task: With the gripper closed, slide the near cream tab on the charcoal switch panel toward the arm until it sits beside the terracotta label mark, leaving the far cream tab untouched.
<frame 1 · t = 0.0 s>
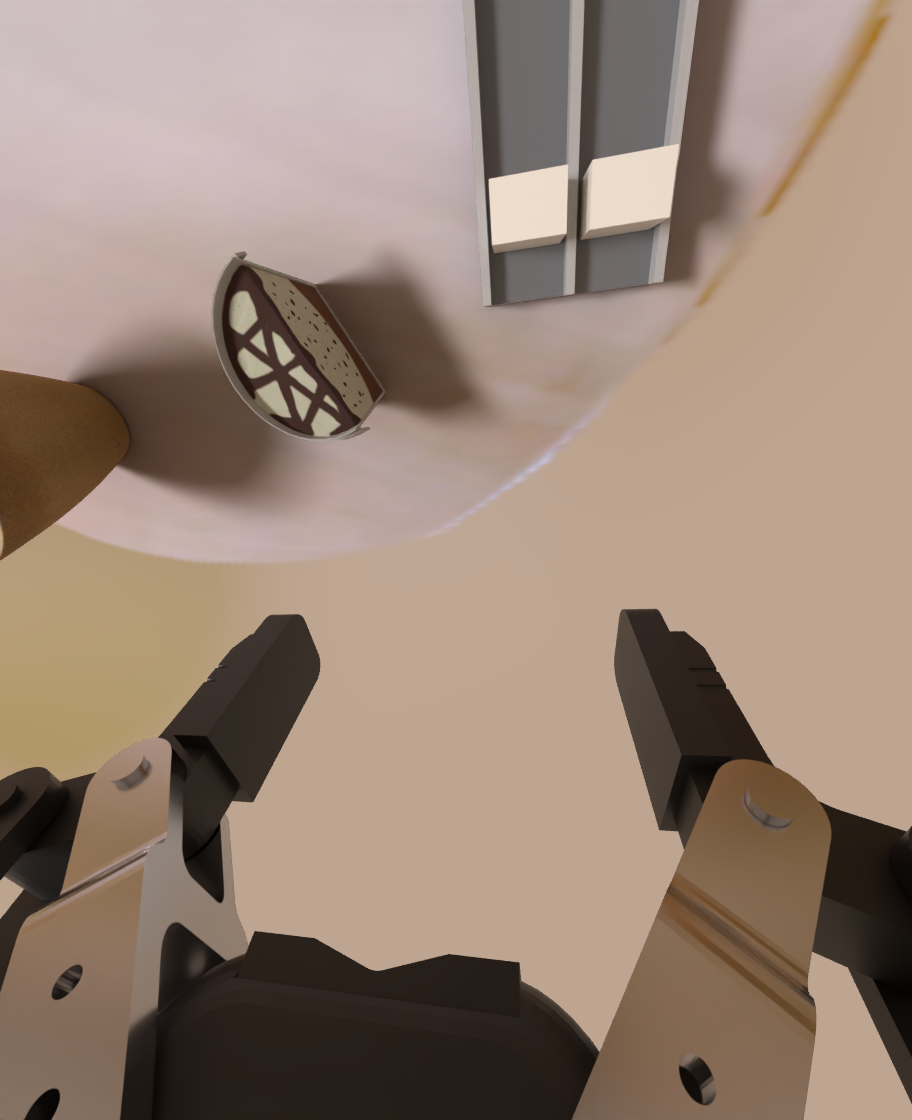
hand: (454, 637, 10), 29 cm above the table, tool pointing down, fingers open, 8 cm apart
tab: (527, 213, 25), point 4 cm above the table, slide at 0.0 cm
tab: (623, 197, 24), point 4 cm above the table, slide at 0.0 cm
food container: (327, 362, 35), on the table
plant pot: (94, 424, 40), on the table
switch panel: (568, 117, 25), on the table
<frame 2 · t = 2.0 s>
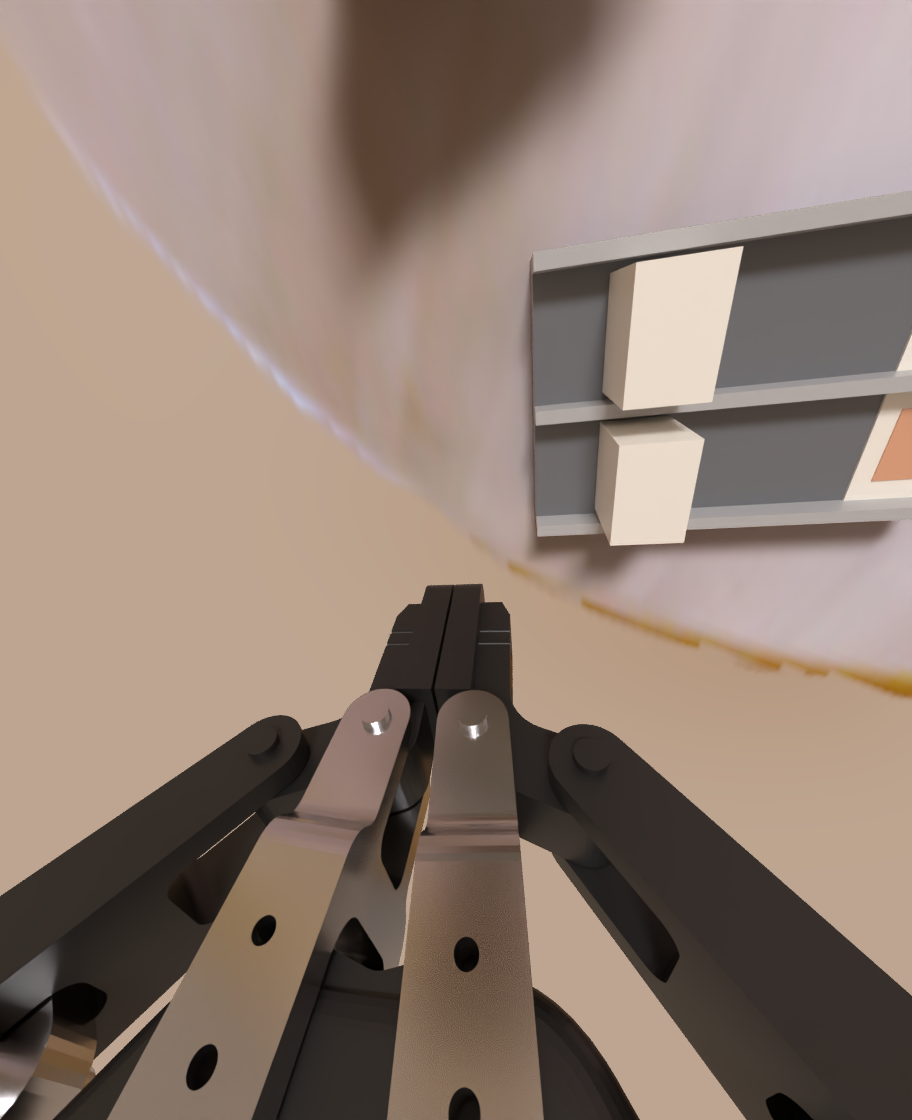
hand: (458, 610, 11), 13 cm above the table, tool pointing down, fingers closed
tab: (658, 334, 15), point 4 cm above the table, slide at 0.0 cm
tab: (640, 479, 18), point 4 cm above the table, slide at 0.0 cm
switch panel: (735, 384, 19), on the table
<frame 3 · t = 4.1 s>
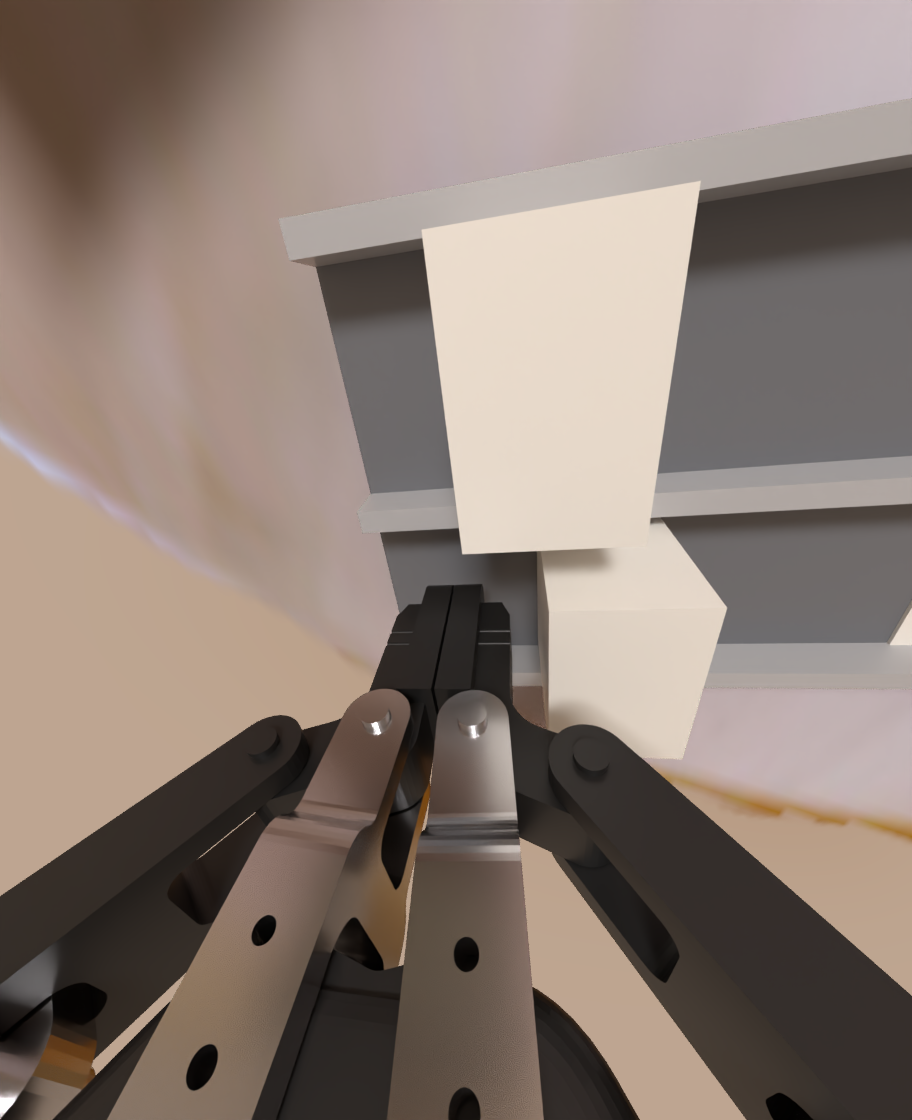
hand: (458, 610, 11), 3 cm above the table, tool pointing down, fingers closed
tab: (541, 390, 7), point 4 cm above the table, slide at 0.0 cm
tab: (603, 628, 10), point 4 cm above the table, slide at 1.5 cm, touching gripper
switch panel: (711, 454, 11), on the table
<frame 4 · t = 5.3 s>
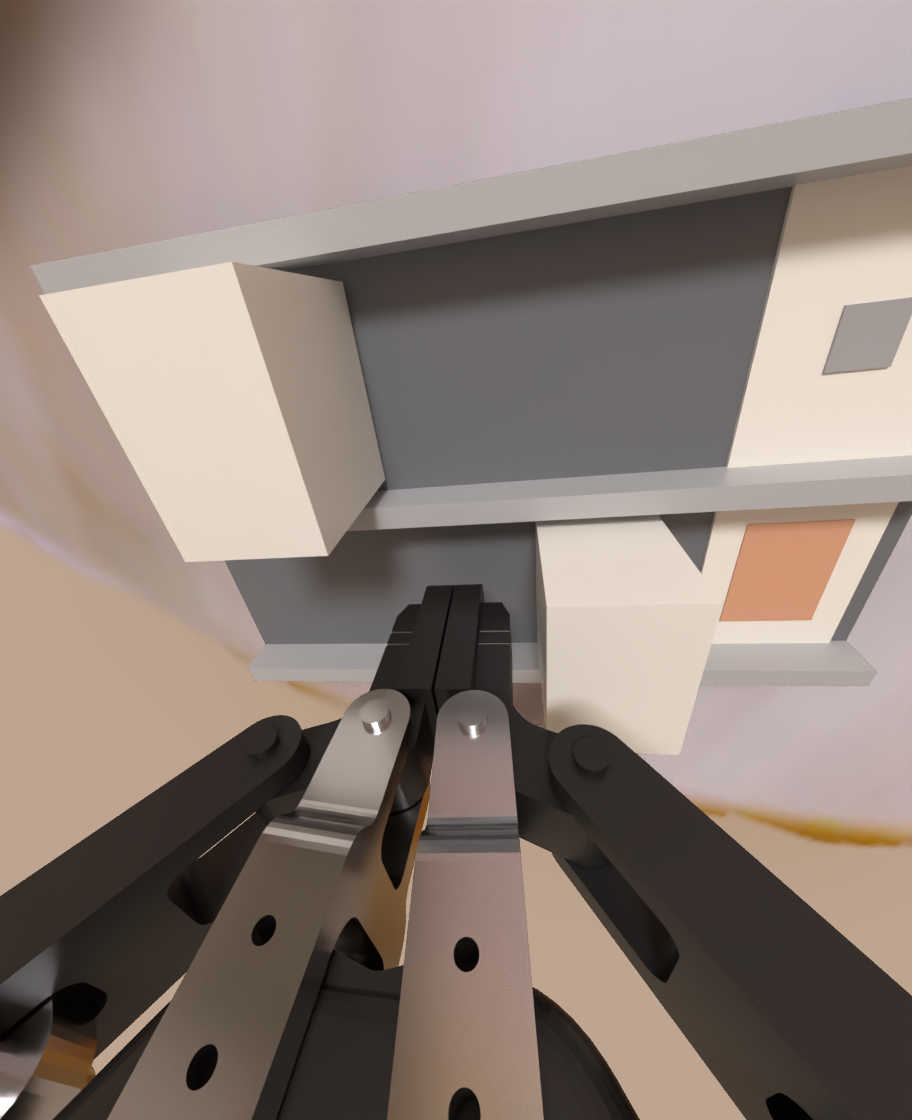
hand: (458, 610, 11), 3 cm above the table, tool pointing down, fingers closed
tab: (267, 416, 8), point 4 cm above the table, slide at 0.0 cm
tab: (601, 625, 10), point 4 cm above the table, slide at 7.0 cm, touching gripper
switch panel: (516, 467, 12), on the table
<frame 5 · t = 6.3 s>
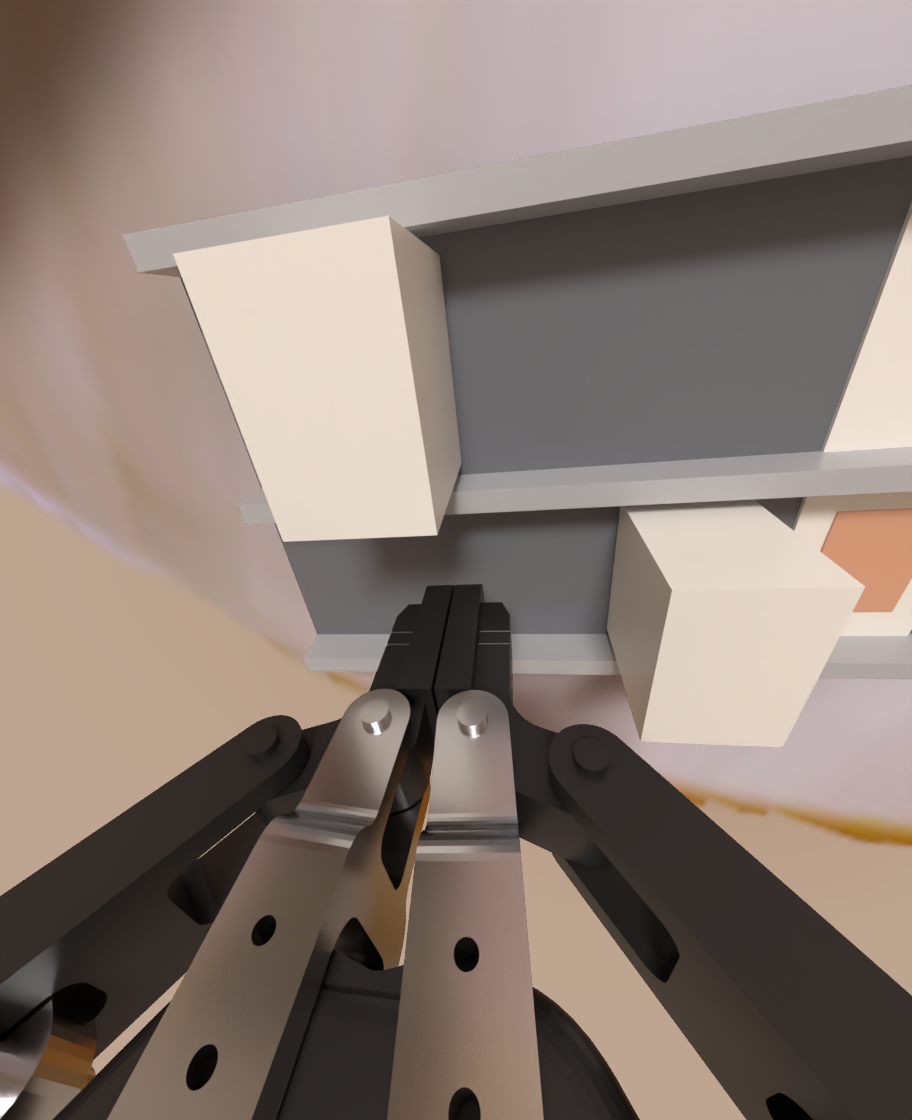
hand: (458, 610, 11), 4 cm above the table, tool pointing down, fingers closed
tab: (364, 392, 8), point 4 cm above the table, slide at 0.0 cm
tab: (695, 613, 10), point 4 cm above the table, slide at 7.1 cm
switch panel: (585, 453, 12), on the table
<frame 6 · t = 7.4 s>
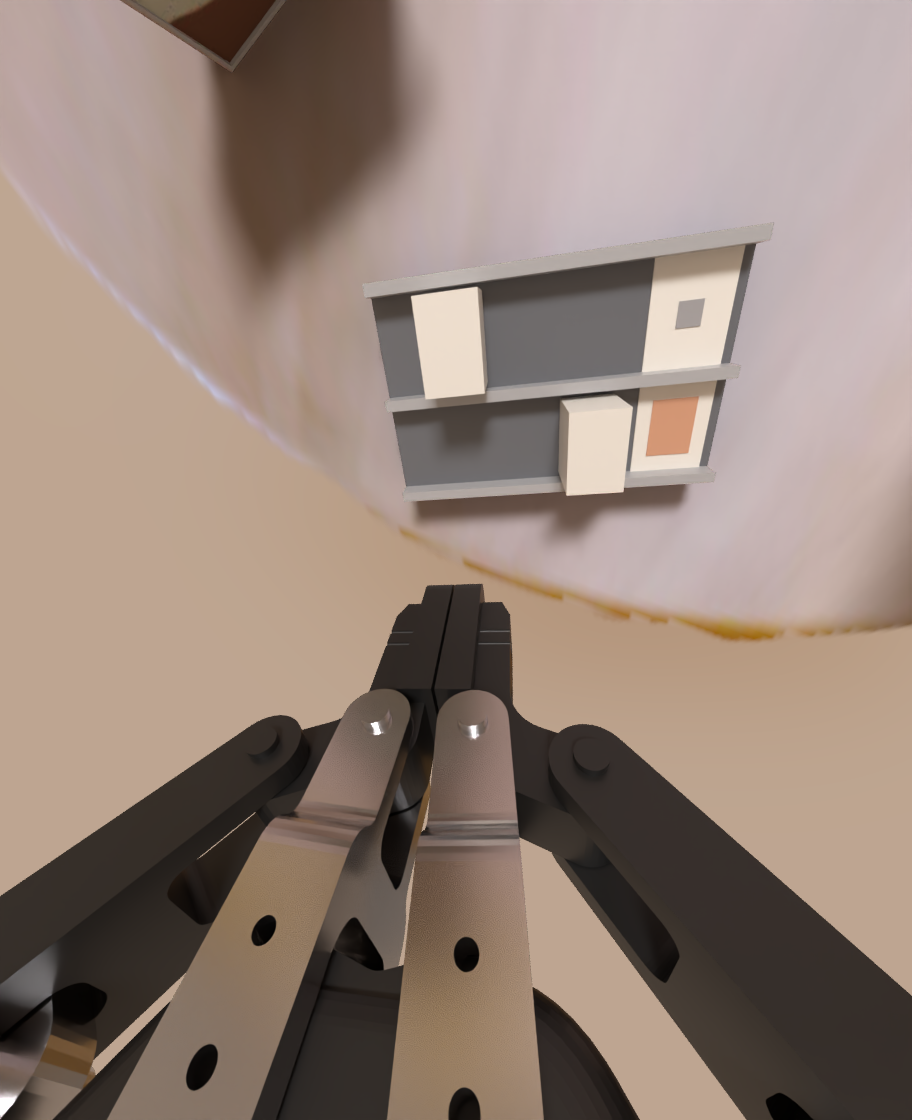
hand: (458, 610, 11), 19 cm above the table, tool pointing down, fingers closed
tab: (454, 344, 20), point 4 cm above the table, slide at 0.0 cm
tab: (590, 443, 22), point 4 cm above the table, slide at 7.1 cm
switch panel: (546, 382, 25), on the table
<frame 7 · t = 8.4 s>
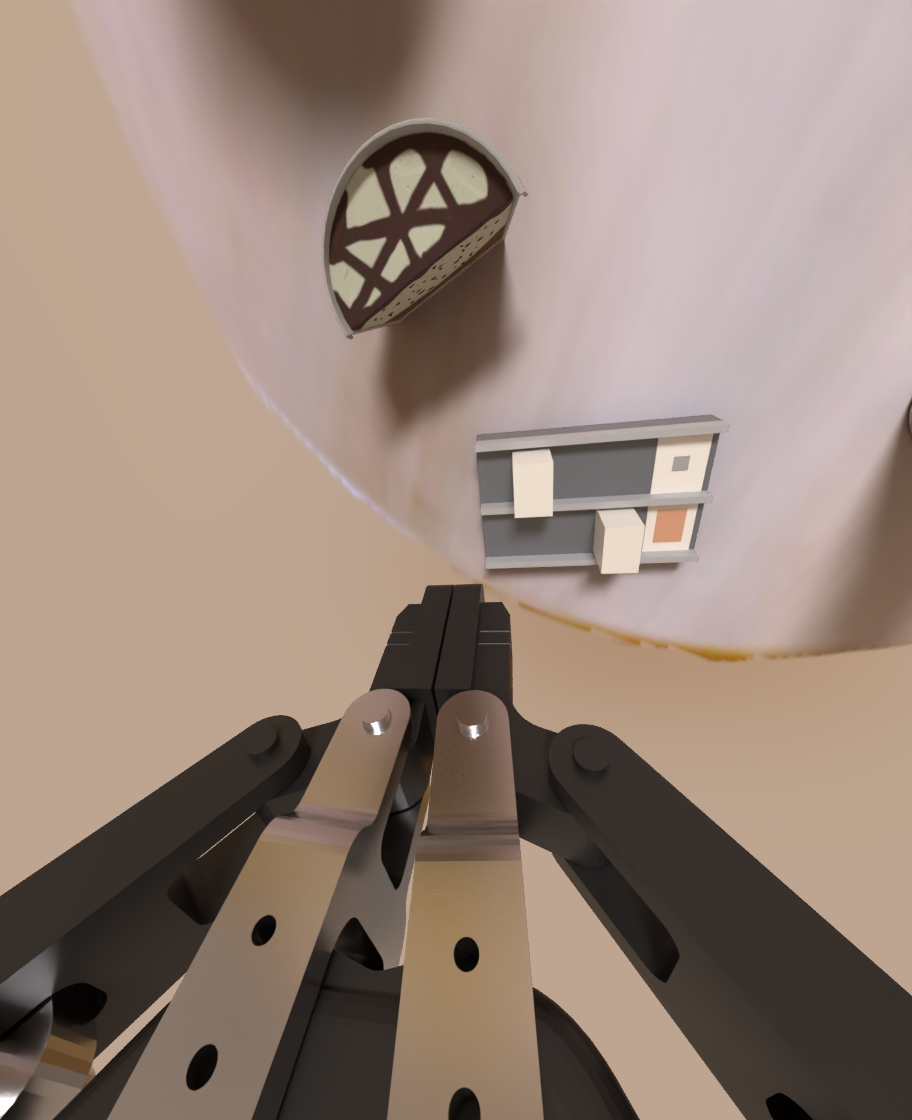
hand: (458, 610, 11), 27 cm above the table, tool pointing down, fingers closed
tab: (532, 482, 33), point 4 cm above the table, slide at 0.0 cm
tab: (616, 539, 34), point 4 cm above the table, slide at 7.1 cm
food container: (426, 239, 28), on the table
switch panel: (585, 491, 37), on the table
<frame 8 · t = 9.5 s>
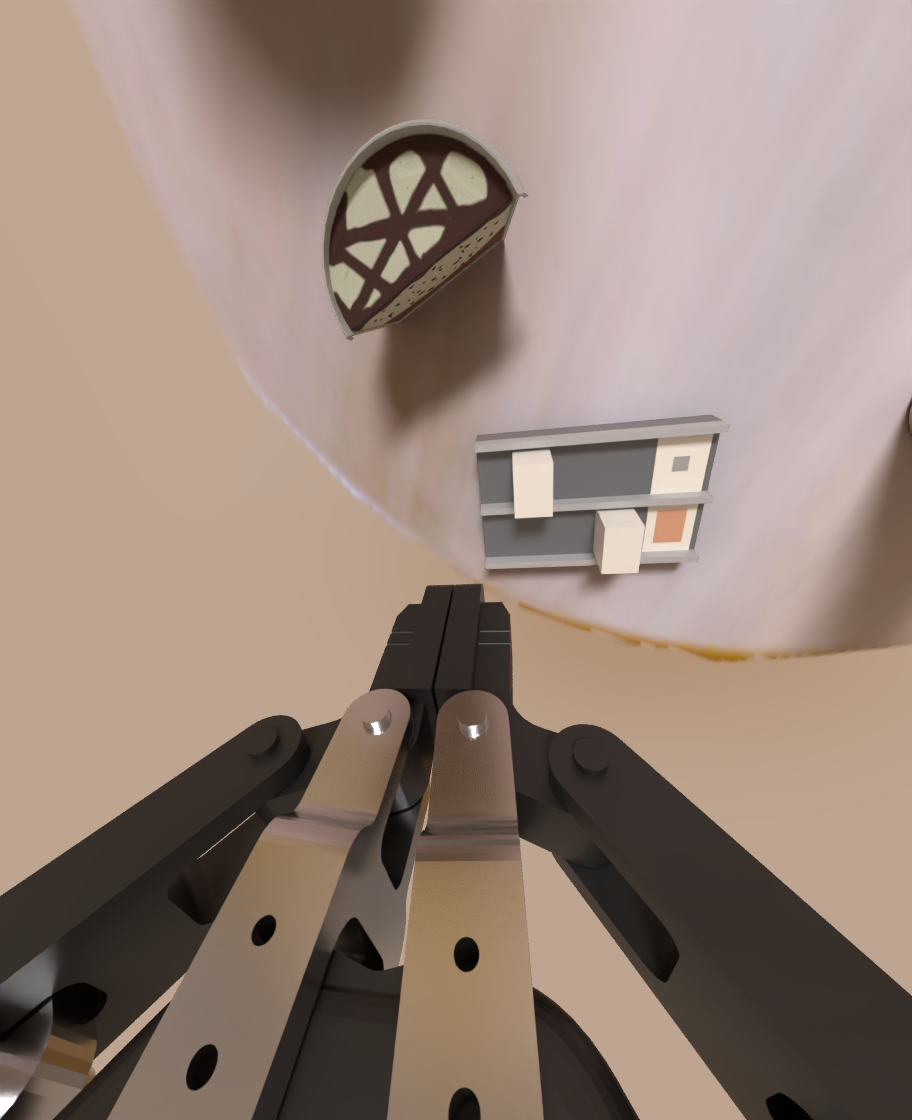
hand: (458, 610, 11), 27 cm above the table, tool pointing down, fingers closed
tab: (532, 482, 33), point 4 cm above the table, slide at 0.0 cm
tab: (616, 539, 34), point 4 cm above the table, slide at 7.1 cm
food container: (425, 240, 29), on the table
switch panel: (585, 492, 37), on the table
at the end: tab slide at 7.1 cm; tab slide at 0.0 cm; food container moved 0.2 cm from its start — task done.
